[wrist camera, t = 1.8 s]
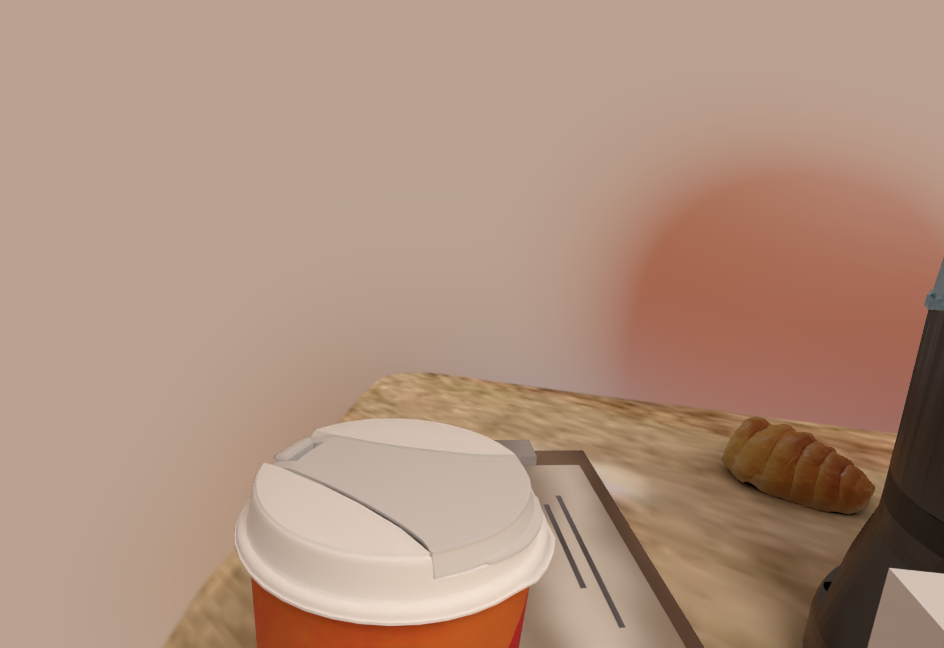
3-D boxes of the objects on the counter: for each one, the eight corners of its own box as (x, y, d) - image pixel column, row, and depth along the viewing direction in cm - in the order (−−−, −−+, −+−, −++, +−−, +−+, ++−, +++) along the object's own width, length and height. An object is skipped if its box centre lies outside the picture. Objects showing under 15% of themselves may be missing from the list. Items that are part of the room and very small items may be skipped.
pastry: (882, 499, 53) (895, 449, 51) (846, 534, 48) (859, 480, 47) (753, 449, 59) (761, 403, 58) (709, 476, 54) (718, 427, 53)
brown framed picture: (581, 463, 54) (584, 438, 54) (722, 701, 33) (729, 665, 33) (381, 464, 52) (382, 439, 51) (400, 721, 31) (402, 682, 31)
